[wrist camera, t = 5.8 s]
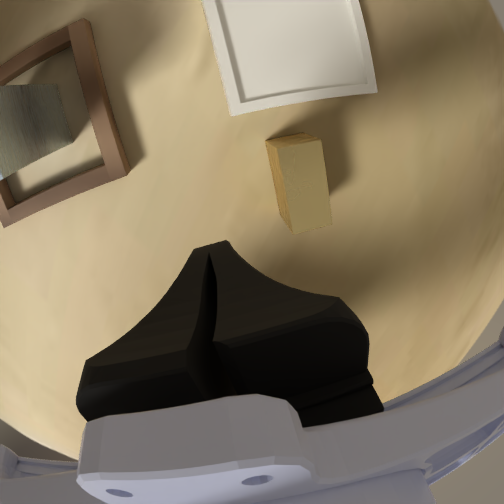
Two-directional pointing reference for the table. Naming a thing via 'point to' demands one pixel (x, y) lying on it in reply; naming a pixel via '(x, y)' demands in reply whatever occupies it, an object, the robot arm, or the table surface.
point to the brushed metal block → (30, 125)
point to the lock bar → (300, 181)
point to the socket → (100, 114)
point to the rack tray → (289, 51)
